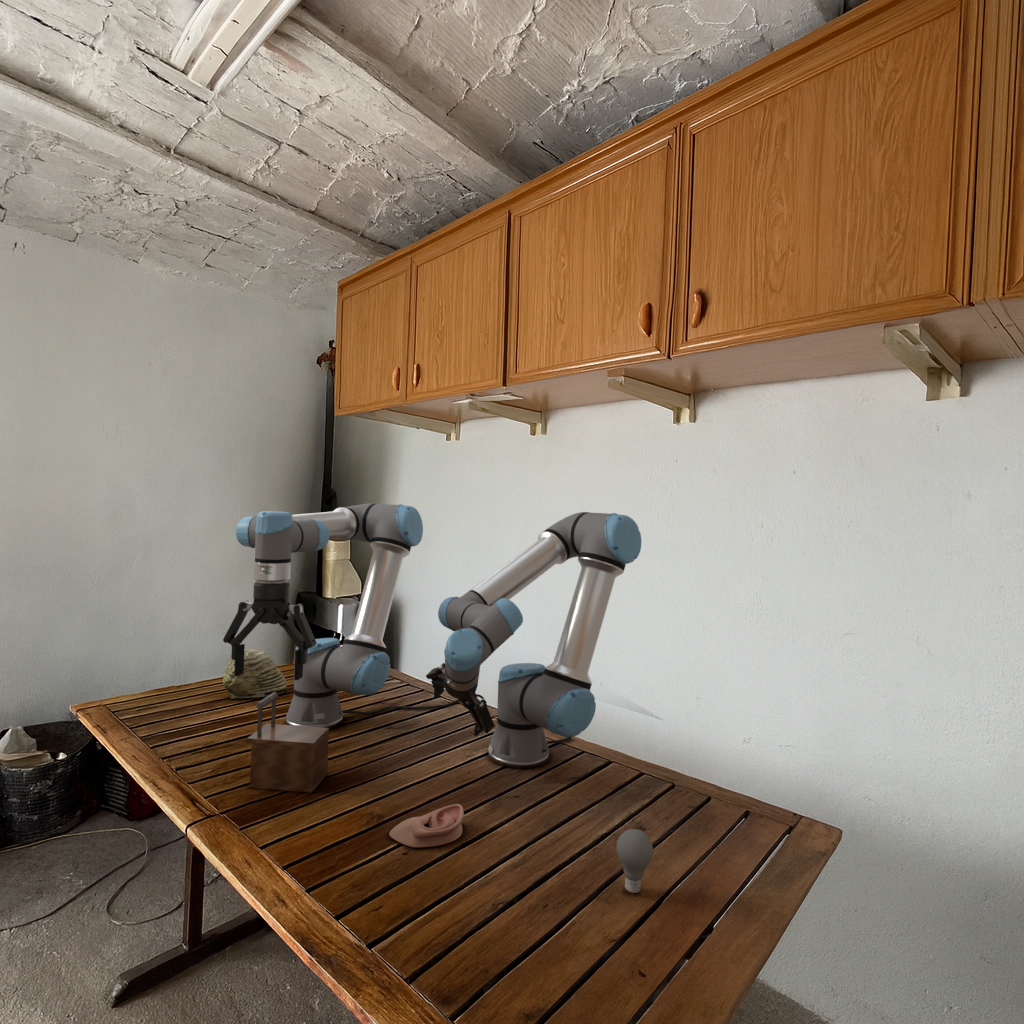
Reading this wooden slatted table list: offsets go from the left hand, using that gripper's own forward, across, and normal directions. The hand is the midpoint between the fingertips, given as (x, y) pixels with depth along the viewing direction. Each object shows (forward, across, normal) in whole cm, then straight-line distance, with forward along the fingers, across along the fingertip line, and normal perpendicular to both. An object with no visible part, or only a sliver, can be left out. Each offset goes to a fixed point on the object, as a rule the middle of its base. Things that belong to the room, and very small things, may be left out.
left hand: (268, 676), depth 140 cm
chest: (+23, +6, 0) cm, 24 cm away
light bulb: (+23, +78, -30) cm, 86 cm away
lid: (+13, +5, 0) cm, 14 cm away
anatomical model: (+23, +40, -17) cm, 49 cm away
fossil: (+23, -30, +55) cm, 67 cm away
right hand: (+11, +40, +17) cm, 45 cm away
